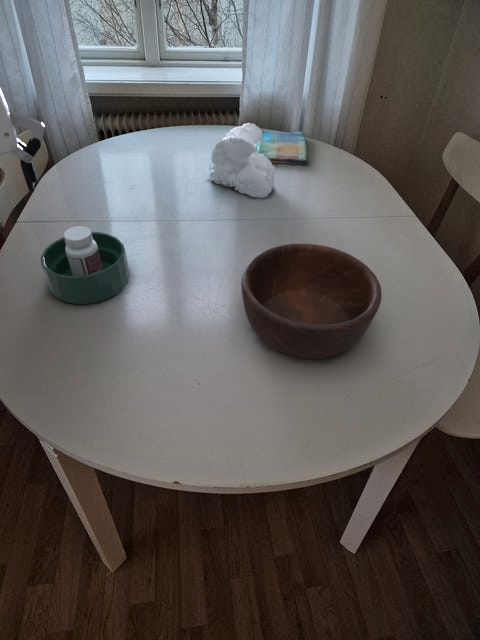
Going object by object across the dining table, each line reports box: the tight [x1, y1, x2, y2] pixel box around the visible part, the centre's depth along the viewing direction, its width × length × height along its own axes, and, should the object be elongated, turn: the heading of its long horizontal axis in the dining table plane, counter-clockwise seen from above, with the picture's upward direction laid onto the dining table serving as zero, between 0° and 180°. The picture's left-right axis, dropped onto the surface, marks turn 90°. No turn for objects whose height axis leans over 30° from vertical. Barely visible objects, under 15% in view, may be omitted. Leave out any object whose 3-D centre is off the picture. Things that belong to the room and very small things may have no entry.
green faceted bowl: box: [40, 231, 130, 305], centre depth 89 cm, size 16×16×7 cm
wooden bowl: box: [240, 243, 382, 360], centre depth 80 cm, size 25×25×10 cm
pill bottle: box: [63, 225, 103, 276], centre depth 87 cm, size 6×6×11 cm
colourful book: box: [256, 129, 309, 166], centre depth 145 cm, size 17×23×2 cm
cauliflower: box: [209, 122, 276, 199], centre depth 122 cm, size 19×20×20 cm
